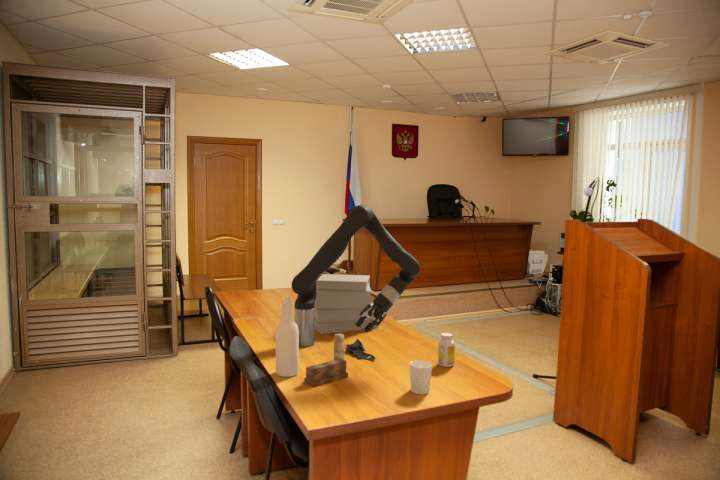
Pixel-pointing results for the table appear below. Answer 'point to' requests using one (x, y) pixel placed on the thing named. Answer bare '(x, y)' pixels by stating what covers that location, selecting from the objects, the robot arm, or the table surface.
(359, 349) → the decorative bat
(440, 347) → the supplement bottle
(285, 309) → the alcohol
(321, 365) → the brown block
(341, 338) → the dowel
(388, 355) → the table surface
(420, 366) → the white cup
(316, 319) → the book stack
